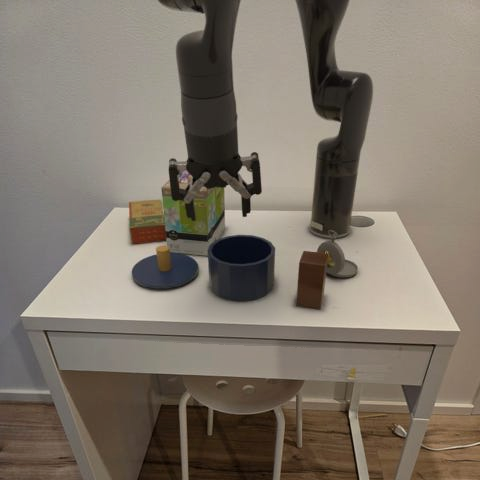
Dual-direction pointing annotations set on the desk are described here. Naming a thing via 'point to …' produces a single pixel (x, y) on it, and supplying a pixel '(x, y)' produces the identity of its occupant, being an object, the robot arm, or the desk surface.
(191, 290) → the desk surface
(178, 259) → the tin lid
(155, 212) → the carton
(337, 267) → the pocket watch
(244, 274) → the tin
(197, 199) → the tea box
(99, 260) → the desk surface
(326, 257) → the block
